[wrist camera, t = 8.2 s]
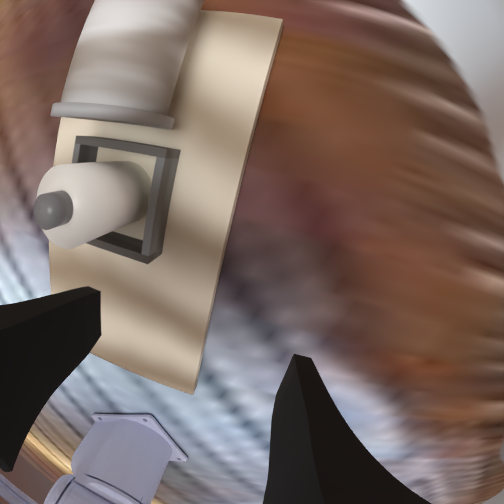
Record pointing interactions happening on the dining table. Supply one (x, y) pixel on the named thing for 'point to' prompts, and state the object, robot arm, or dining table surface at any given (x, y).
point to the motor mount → (162, 168)
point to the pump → (90, 200)
